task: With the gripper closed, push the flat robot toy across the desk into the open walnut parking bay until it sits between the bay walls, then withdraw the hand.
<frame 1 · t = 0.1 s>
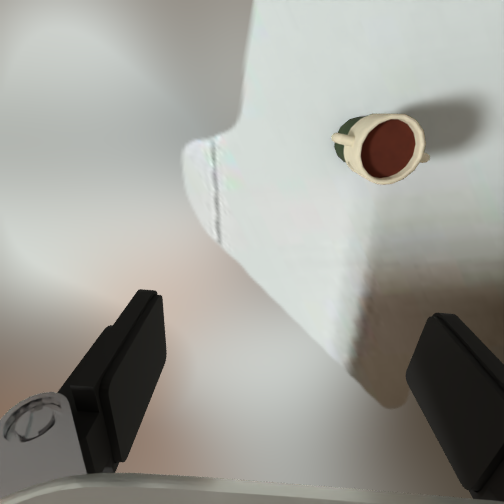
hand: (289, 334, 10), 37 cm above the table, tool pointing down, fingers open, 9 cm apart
character mug: (355, 140, 42), on the table
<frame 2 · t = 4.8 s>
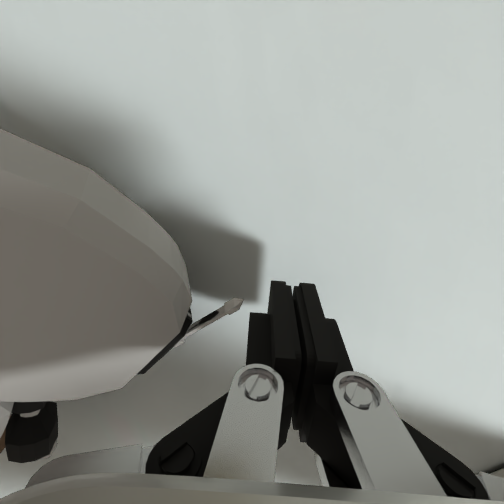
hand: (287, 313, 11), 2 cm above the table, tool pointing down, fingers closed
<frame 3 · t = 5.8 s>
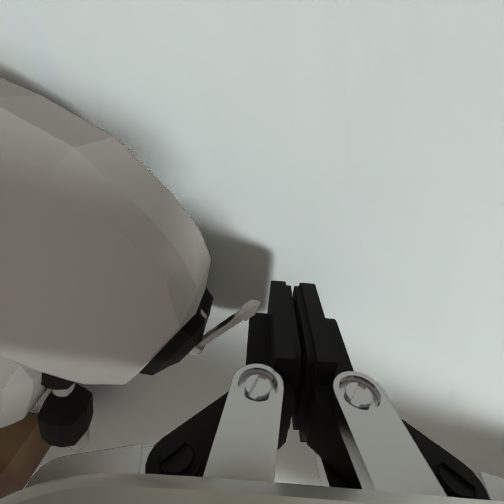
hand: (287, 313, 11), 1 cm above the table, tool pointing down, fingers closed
robot toy: (61, 272, 13), on the table
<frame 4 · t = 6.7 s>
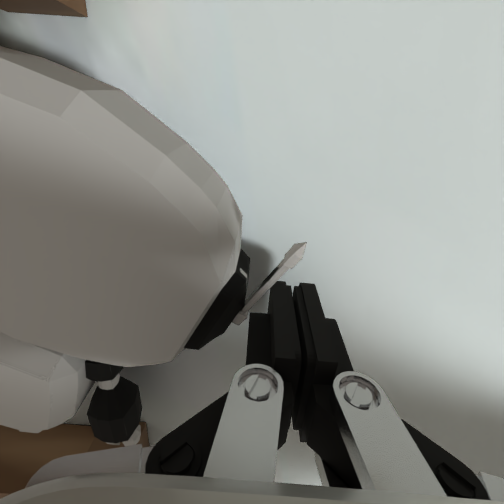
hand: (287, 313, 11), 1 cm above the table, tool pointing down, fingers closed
robot toy: (89, 264, 13), on the table, touching gripper
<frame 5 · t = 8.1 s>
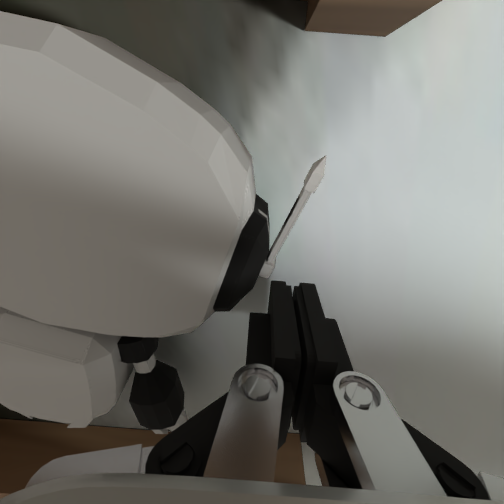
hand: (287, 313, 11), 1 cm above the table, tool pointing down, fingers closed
robot toy: (109, 251, 13), on the table, touching gripper
parking bay: (108, 281, 13), on the table
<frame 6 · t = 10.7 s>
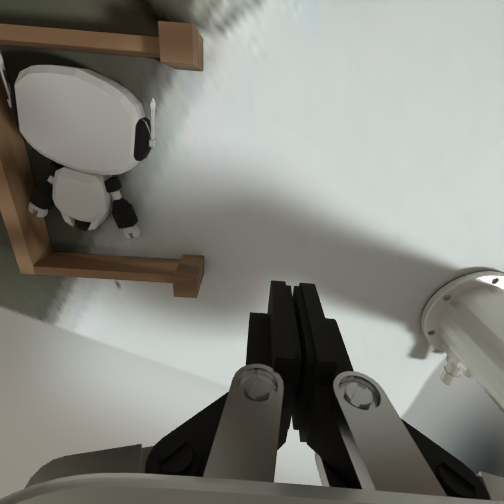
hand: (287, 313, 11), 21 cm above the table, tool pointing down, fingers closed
robot toy: (98, 155, 30), on the table
parking bay: (109, 169, 30), on the table
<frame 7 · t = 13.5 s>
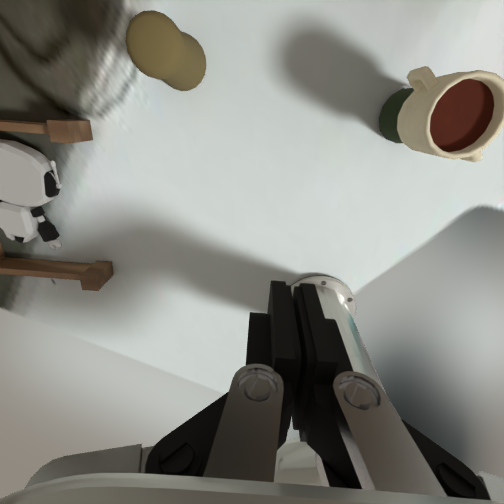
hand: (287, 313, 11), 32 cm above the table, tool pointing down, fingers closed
robot toy: (31, 191, 43), on the table
cork: (181, 62, 36), on the table
character mug: (401, 116, 37), on the table
parking bay: (39, 201, 44), on the table
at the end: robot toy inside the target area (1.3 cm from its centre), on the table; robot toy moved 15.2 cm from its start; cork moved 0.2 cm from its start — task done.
